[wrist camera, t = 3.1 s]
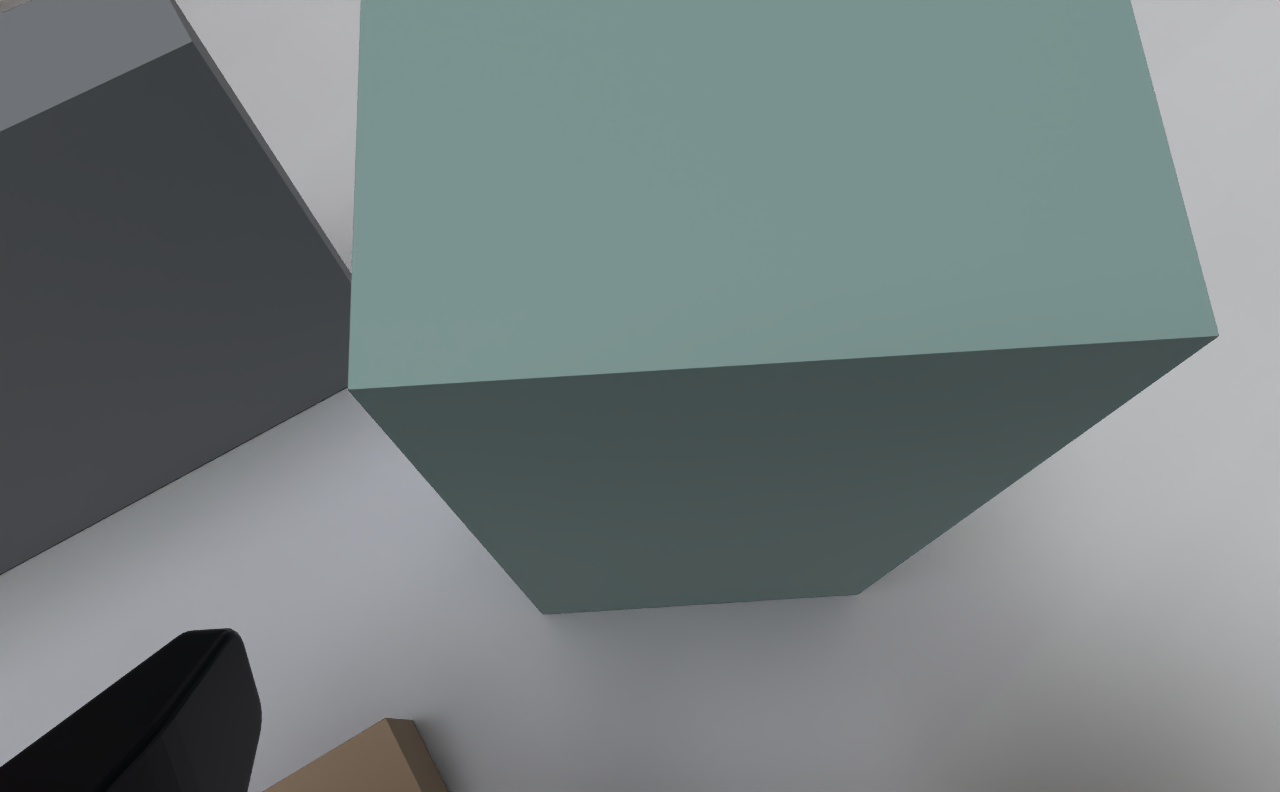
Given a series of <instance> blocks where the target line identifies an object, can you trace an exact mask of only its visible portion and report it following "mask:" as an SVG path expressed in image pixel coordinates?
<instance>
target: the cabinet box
mask: <svg viewBox="0 0 1280 792" xmlns="http://www.w3.org/2000/svg"><path fill="white" fill-rule="evenodd" d="M1218 336H1219V333H1218V330H1217V326H1216V322H1215V318H1214V315H1213V311H1212V307H1211V303H1210V300H1209V296H1208V292H1207V288H1206V284H1205V281H1204V277H1203V273H1202V269H1201V266H1200V262H1199V258H1198V254H1197V250H1196V247H1195V243H1194V239H1193V235H1192V232H1191V228H1190V224H1189V220H1188V217H1187V213H1186V209H1185V205H1184V201H1183V198H1182V194H1181V190H1180V186H1179V183H1178V179H1177V175H1176V171H1175V168H1174V164H1173V160H1172V156H1171V152H1170V149H1169V145H1168V141H1167V137H1166V134H1165V130H1164V126H1163V122H1162V118H1161V115H1160V111H1159V107H1158V103H1157V100H1156V96H1155V92H1154V88H1153V85H1152V81H1151V77H1150V73H1149V69H1148V66H1147V62H1146V58H1145V54H1144V51H1143V47H1142V43H1141V39H1140V36H1139V32H1138V28H1137V24H1136V20H1135V17H1134V13H1133V9H1132V5H1131V2H1130V0H361V11H360V41H359V71H358V101H357V130H356V160H355V190H354V220H353V250H352V280H351V309H350V339H349V369H348V390H349V392H350V393H351V394H352V395H353V396H354V397H355V398H356V400H357V401H358V402H359V403H360V404H361V405H362V407H363V408H364V409H365V410H366V411H367V412H368V413H369V415H370V416H371V417H372V418H373V419H374V420H375V422H376V423H377V424H378V425H379V426H380V427H381V428H382V430H383V431H384V432H385V433H386V434H387V435H388V437H389V438H390V439H391V440H392V441H393V442H394V443H395V445H396V446H397V447H398V448H399V449H400V450H401V452H402V453H403V454H404V455H405V456H406V457H407V458H408V460H409V461H410V462H411V463H412V464H413V465H414V467H415V468H416V469H417V470H418V471H419V472H420V473H421V475H422V476H423V477H424V478H425V479H426V480H427V482H428V483H429V484H430V485H431V486H432V487H433V488H434V490H435V491H436V492H437V493H438V494H439V495H440V497H441V498H442V499H443V500H444V501H445V502H446V503H447V505H448V506H449V507H450V508H451V509H452V510H453V512H454V513H455V514H456V515H457V516H458V517H459V518H460V520H461V521H462V522H463V523H464V524H465V525H466V527H467V528H468V529H469V530H470V531H471V532H472V533H473V535H474V536H475V537H476V538H477V539H478V540H479V542H480V543H481V544H482V545H483V546H484V547H485V548H486V550H487V551H488V552H489V553H490V554H491V555H492V557H493V558H494V559H495V560H496V561H497V562H498V563H499V565H500V566H501V567H502V568H503V569H504V570H505V572H506V573H507V574H508V575H509V576H510V577H511V578H512V580H513V581H514V582H515V583H516V584H517V585H518V587H519V588H520V589H521V590H522V591H523V592H524V593H525V595H526V596H527V597H528V598H529V599H530V600H531V602H532V603H533V604H534V605H535V606H536V607H537V608H538V610H539V611H540V612H541V613H542V614H559V613H574V612H590V611H606V610H622V609H637V608H653V607H669V606H684V605H700V604H716V603H731V602H747V601H763V600H778V599H794V598H810V597H825V596H841V595H857V594H859V593H861V592H862V591H863V590H865V589H866V588H868V587H869V586H870V585H872V584H873V583H874V582H876V581H877V580H879V579H880V578H881V577H883V576H884V575H886V574H887V573H888V572H890V571H891V570H893V569H894V568H895V567H897V566H898V565H900V564H901V563H902V562H904V561H905V560H907V559H908V558H909V557H911V556H912V555H914V554H915V553H916V552H918V551H919V550H921V549H922V548H923V547H925V546H926V545H928V544H929V543H930V542H932V541H933V540H935V539H936V538H937V537H939V536H940V535H942V534H943V533H944V532H946V531H947V530H949V529H950V528H951V527H953V526H954V525H956V524H957V523H958V522H960V521H961V520H963V519H964V518H965V517H967V516H968V515H969V514H971V513H972V512H974V511H975V510H976V509H978V508H979V507H981V506H982V505H983V504H985V503H986V502H988V501H989V500H990V499H992V498H993V497H995V496H996V495H997V494H999V493H1000V492H1002V491H1003V490H1004V489H1006V488H1007V487H1009V486H1010V485H1011V484H1013V483H1014V482H1016V481H1017V480H1018V479H1020V478H1021V477H1023V476H1024V475H1025V474H1027V473H1028V472H1030V471H1031V470H1032V469H1034V468H1035V467H1037V466H1038V465H1039V464H1041V463H1042V462H1044V461H1045V460H1046V459H1048V458H1049V457H1051V456H1052V455H1053V454H1055V453H1056V452H1057V451H1059V450H1060V449H1062V448H1063V447H1064V446H1066V445H1067V444H1069V443H1070V442H1071V441H1073V440H1074V439H1076V438H1077V437H1078V436H1080V435H1081V434H1083V433H1084V432H1085V431H1087V430H1088V429H1090V428H1091V427H1092V426H1094V425H1095V424H1097V423H1098V422H1099V421H1101V420H1102V419H1104V418H1105V417H1106V416H1108V415H1109V414H1111V413H1112V412H1113V411H1115V410H1116V409H1118V408H1119V407H1120V406H1122V405H1123V404H1125V403H1126V402H1127V401H1129V400H1130V399H1132V398H1133V397H1134V396H1136V395H1137V394H1139V393H1140V392H1141V391H1143V390H1144V389H1146V388H1147V387H1148V386H1150V385H1151V384H1152V383H1154V382H1155V381H1157V380H1158V379H1159V378H1161V377H1162V376H1164V375H1165V374H1166V373H1168V372H1169V371H1171V370H1172V369H1173V368H1175V367H1176V366H1178V365H1179V364H1180V363H1182V362H1183V361H1185V360H1186V359H1187V358H1189V357H1190V356H1192V355H1193V354H1194V353H1196V352H1197V351H1199V350H1200V349H1201V348H1203V347H1204V346H1206V345H1207V344H1208V343H1210V342H1211V341H1213V340H1214V339H1215V338H1217V337H1218Z"/></svg>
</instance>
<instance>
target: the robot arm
mask: <svg viewBox="0 0 1280 792" xmlns="http://www.w3.org/2000/svg"><path fill="white" fill-rule="evenodd" d="M261 722H262V711H261V703H260V699H259V695H258V692H257V688H256V685H255V681H254V678H253V674H252V671H251V667H250V664H249V660H248V657H247V653H246V650H245V646H244V643H243V641H242V639H241V637H240V635H239V634H238V633H237V632H236V631H234V630H232V629H229V628H224V629H207V630H193V631H187V632H184V633H182V634H181V635H179V636H178V637H176V638H175V639H173V640H172V641H171V642H169V643H168V644H167V645H165V646H164V647H163V648H161V649H160V650H159V651H157V652H156V653H154V654H153V655H152V656H150V657H149V658H148V659H146V660H145V661H144V662H142V663H141V664H140V665H138V666H137V667H136V668H134V669H133V670H131V671H130V672H129V673H127V674H126V675H125V676H123V677H122V678H121V679H119V680H118V681H117V682H115V683H114V684H112V685H111V686H110V687H108V688H107V689H106V690H104V691H103V692H102V693H100V694H99V695H98V696H96V697H95V698H94V699H92V700H91V701H89V702H88V703H87V704H85V705H84V706H83V707H81V708H80V709H79V710H77V711H76V712H75V713H73V714H72V715H70V716H69V717H68V718H66V719H65V720H64V721H62V722H61V723H60V724H58V725H57V726H56V727H54V728H53V729H52V730H50V731H49V732H47V733H46V734H45V735H43V736H42V737H41V738H39V739H38V740H37V741H35V742H34V743H33V744H31V745H30V746H28V747H27V748H26V749H24V750H23V751H22V752H20V753H19V754H18V755H16V756H15V757H14V758H12V759H11V760H10V761H8V762H7V763H5V764H4V765H3V766H1V767H0V792H247V791H248V786H249V782H250V777H251V773H252V768H253V763H254V759H255V754H256V750H257V745H258V741H259V736H260V731H261Z"/></svg>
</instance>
